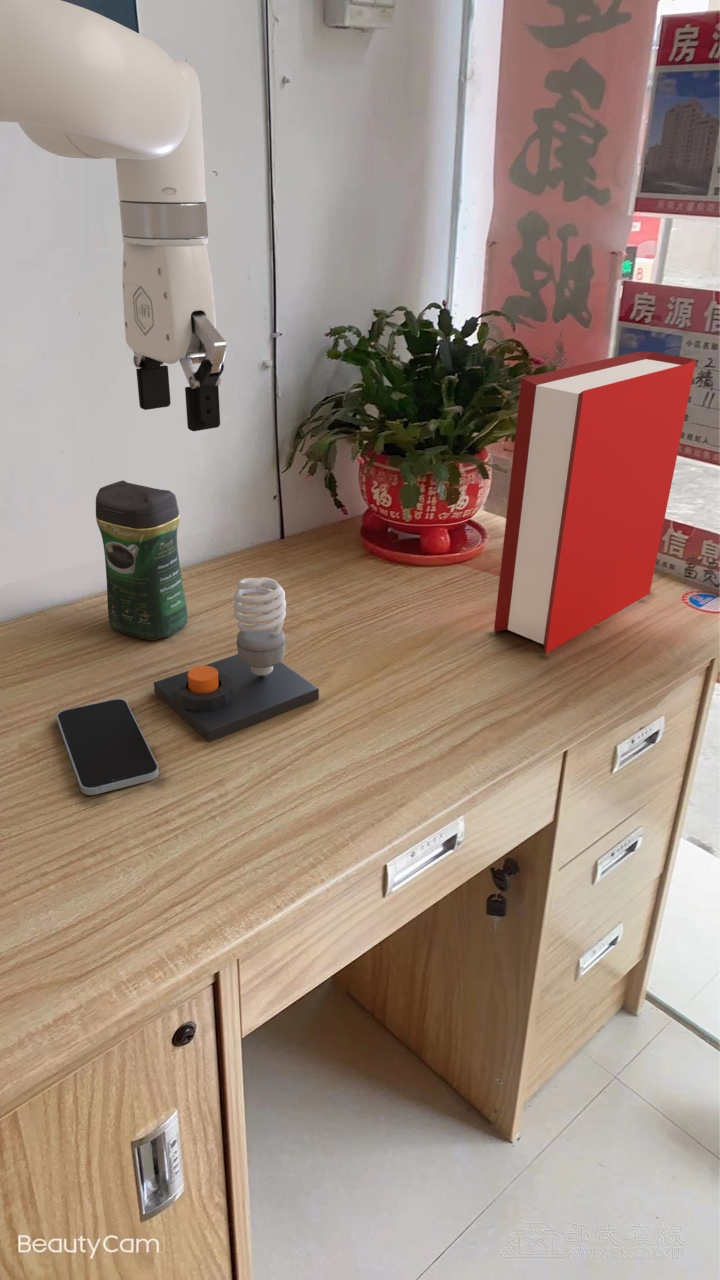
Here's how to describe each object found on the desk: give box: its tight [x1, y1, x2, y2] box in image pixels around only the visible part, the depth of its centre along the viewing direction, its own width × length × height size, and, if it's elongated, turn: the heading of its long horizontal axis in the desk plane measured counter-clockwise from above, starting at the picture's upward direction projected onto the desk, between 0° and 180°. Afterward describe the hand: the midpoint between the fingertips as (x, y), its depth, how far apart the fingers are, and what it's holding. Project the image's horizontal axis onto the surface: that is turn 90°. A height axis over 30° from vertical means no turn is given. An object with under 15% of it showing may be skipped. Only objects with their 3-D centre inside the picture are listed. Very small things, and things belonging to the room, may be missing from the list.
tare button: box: [188, 665, 219, 694], centre depth 94 cm, size 3×3×2 cm
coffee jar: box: [95, 480, 189, 641], centre depth 108 cm, size 10×8×19 cm
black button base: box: [153, 653, 320, 743], centre depth 98 cm, size 14×12×3 cm
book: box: [493, 351, 697, 654], centre depth 112 cm, size 27×8×32 cm, turn 135°
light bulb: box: [233, 576, 287, 677], centre depth 97 cm, size 6×6×12 cm
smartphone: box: [56, 698, 160, 796], centre depth 89 cm, size 7×1×15 cm
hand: (178, 417), depth 86 cm, fingers open, 9 cm apart
